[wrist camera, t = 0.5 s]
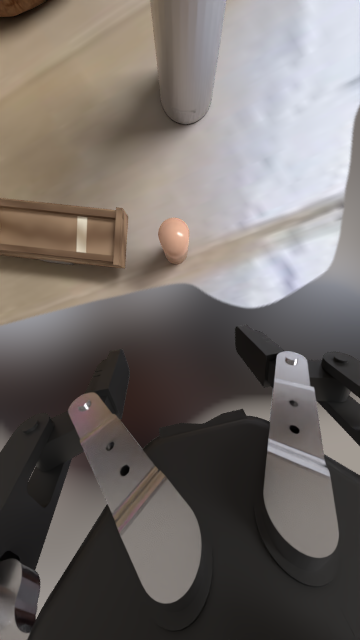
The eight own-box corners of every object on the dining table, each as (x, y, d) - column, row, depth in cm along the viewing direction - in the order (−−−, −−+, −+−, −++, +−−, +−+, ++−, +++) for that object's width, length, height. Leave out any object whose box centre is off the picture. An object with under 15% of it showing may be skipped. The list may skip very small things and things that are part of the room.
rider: (166, 239, 34) (159, 216, 24) (188, 242, 34) (190, 219, 24) (164, 262, 35) (157, 248, 25) (186, 265, 35) (187, 251, 25)
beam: (-10, 208, 34) (-50, 189, 28) (132, 223, 34) (122, 208, 28) (-8, 256, 35) (-47, 247, 29) (129, 270, 35) (119, 265, 29)
